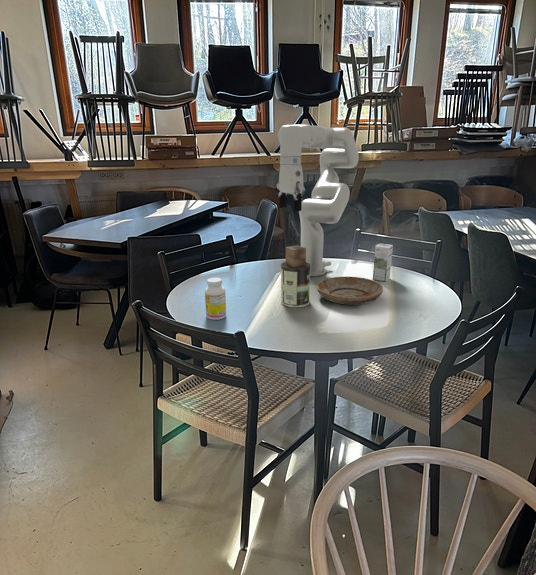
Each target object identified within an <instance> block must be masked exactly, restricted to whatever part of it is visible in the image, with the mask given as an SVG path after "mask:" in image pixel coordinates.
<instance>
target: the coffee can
mask: <svg viewBox="0 0 536 575" xmlns="http://www.w3.org/2000/svg"><path fill="white" fill-rule="evenodd" d="M310 266H311V265H310V264H309V263H307V262H306V265H304V266H298V267H292V266H289V265H287V264H286V261H284V262H282V263H281V264H280V269H281V270H280V271H281V272H280V274H281V275H280V276H281V279H280V280H281V282H280V283H281V284H280V288H281V290H280V291H281V293H280V295H281V297H280V298H281V299H280V303H281V304H282V306H285V307H289V308H304V307H307V306H309V305H310V286H311V285H310V284H311V282H310V281H311V276H310Z"/></svg>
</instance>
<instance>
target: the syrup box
mask: <svg viewBox="0 0 536 575" xmlns="http://www.w3.org/2000/svg"><path fill="white" fill-rule="evenodd" d="M393 249H394V245H393V244H389V243H388V244H386V243H377V244H375V245H374V259H373V260H374V262H373V271H372V272H373V273H372V280H373V281H379V282H384V283H385V282H388V281H389V280H390V279H391V270H392V269H391V267H392V258H393ZM389 278H390V279H389ZM388 279H389V280H388Z"/></svg>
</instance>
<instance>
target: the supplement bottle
mask: <svg viewBox="0 0 536 575" xmlns="http://www.w3.org/2000/svg"><path fill="white" fill-rule="evenodd" d="M206 282H207V284H206V285H207V286H206V288H205V289H204V300H205V301H204V302H205V303H204V304H205V315H206V318H207V319H209V320H213V321H219V320H222V319H225V317H226V316H227V302H226V301H227V300H226V299H227V298H226V297H227V296H226V287H225V286H223V285H222V284H223V279H222V278H220V277H210V278H207V280H206Z"/></svg>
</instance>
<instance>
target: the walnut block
mask: <svg viewBox="0 0 536 575" xmlns="http://www.w3.org/2000/svg"><path fill="white" fill-rule="evenodd" d="M285 262H286V264H287V265H289V266H292V267H298V266H304V265H306V248H304V247H301V245H291V246H286V247H285Z"/></svg>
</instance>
